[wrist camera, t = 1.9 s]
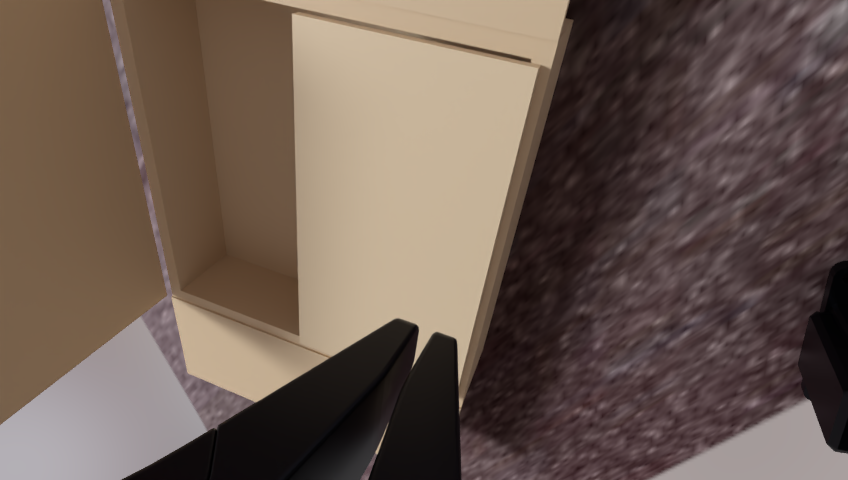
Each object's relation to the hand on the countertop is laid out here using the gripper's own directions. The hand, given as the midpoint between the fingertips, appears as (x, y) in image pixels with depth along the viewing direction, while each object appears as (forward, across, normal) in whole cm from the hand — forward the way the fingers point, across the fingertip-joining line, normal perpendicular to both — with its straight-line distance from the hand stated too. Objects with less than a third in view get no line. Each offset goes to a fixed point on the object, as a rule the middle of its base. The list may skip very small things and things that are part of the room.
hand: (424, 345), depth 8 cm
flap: (+4, +16, +4) cm, 17 cm away
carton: (+13, +8, +5) cm, 16 cm away
